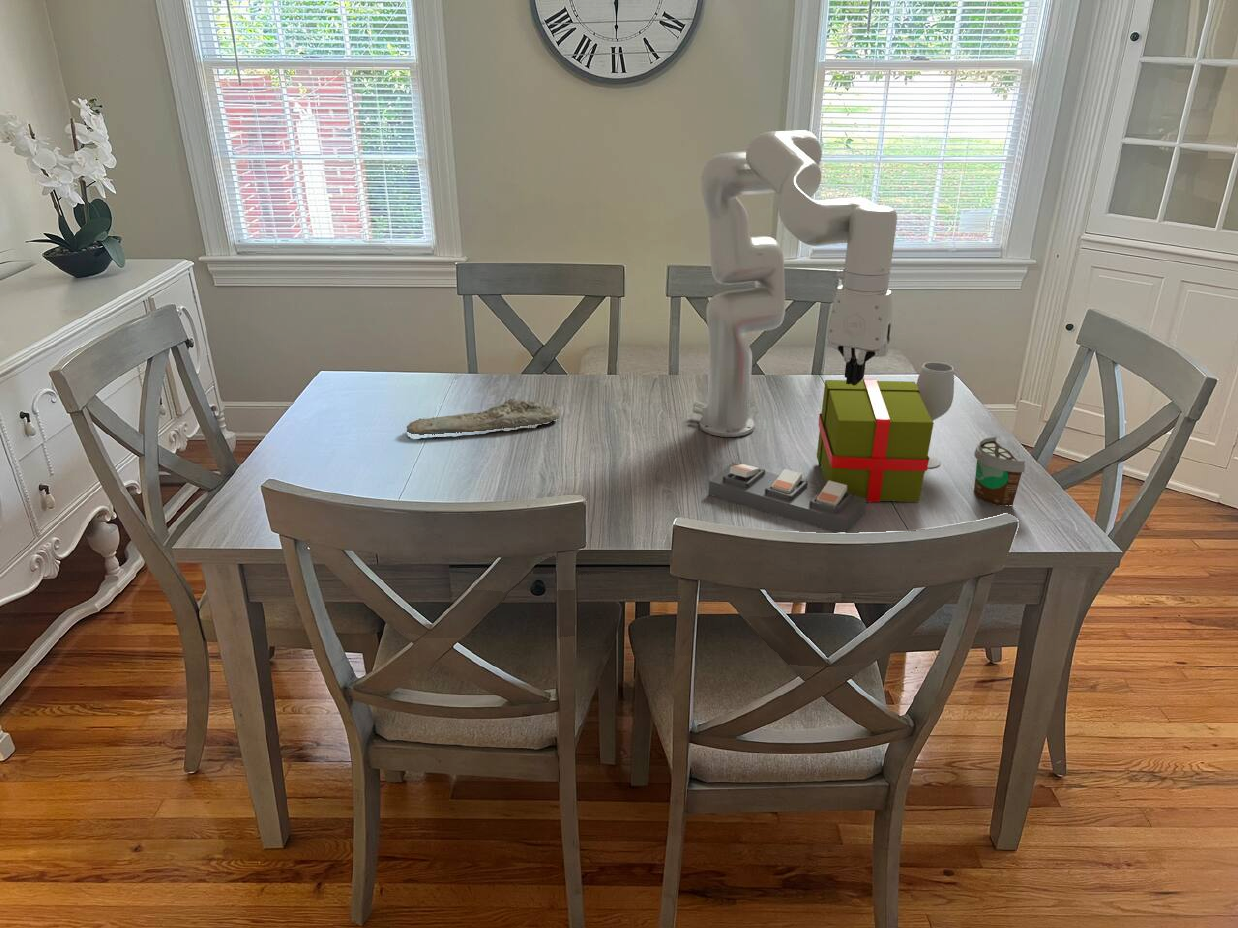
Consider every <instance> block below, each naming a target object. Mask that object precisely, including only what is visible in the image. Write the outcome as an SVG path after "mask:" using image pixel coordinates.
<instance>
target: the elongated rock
mask: <svg viewBox="0 0 1238 928" xmlns="http://www.w3.org/2000/svg"><path fill="white" fill-rule="evenodd" d="M559 413H560V412H559V411H558V409H557V408H556V407H553V406H548V405H545V404H541V403H540V402H539V403H538V402H536V401H535V402H534V401H526V400H523V401H521V400H517V399H516V398H509V399H508V400H506V401H504V402H503V403H502V404H500V405H499V406H493V407H490V408H489V409H486V410H484V411H479V412H468V413H461V414H460V413H459V414H454V415H445V416H434V417H428V418H418V419H416V420H413V421H410V422H409V424H408V425H406V431H407V432H409V433H411V434H419V435H424V434H432V435H433V434H434V435H435V434H444V433H456V432H457V433H459V432H460V433H462V432H474V431H486V430H494V429H502V428H503V429H504V428H516V427H520V426H528V425H535V424H543V423H547V422H552V421H554V420H556V419H559V418H560V415H559Z"/></svg>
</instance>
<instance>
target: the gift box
mask: <svg viewBox="0 0 1238 928" xmlns="http://www.w3.org/2000/svg"><path fill="white" fill-rule="evenodd" d="M916 383H917V382H915V381H906V380H905V381H899V380H898V381H897V380H895V381H894V380H877V379H876V378H863V380H861V381H860V382H859V383H858V384H856V385H855V386H854V385H852V384H846V379H825V380H824V388H823V389H824V390H823V396H822V397H823V398H822V407H821V413H819V417H818V428H819V431H818V432H819V434H818V440H817V441H818V443H817V452H816V459H817V462H818V467H820V468H821V472H822V476H823V480H824V484H825V485H826V484H827V482H828V481H833V482H837V483H841V484H844V485H847V491H846V492H849V493H853V495H855V496H858V497H862V498H866V499H867V500H866V503H880V502H915V503H919V502H920V498H921V494H922V493H921V492H922V488H923V484H924V483H923V482H924V477H925V471H926V472H927V471H928V469H929V468H928V462H929V457H928V454H929V450H930V444H931V439H932V433H933V430H934V420H933V421H932V419H931V417H930V415H929V413H928V411H927V409H926V407H925V405H924V403H923V401H922V399H921V397H920V395H919V389H918V387H917V385H916ZM825 485H824V486H825Z"/></svg>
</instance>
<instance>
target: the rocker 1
mask: <svg viewBox="0 0 1238 928" xmlns="http://www.w3.org/2000/svg"><path fill="white" fill-rule="evenodd" d="M739 464H740V463H739ZM759 468H760V467H757V466H752V465H750V464H749V465H748V464H744V463H741V464H740V465H735V466H732V467H730V472H729V473H731V474H735V475H739V476H742V477H750V476H753V475H756V474H758V472H759Z"/></svg>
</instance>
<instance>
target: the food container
mask: <svg viewBox="0 0 1238 928" xmlns="http://www.w3.org/2000/svg"><path fill="white" fill-rule="evenodd" d="M997 438H998V437H997V436H991V437H987V438H983V439H981V440H980V441H979V443H978V444H977V445H976V448H975V450H974V452H973V455H974V458H975V459H976V467H975V476H974V486H973V487H974V488H973V494H974V496H975V497H977V499H979V500H981V501H983V502H984V503H987V502H988V503H987V504H990V503H991V504H990V505H994V504H995V506H998V505H1004V506H1003V507H1006V506H1005V505H1008V506H1007V507H1010V506H1009V505H1012V506H1014V502H1015V498H1016V494H1017V491H1018V488H1019V484H1020V481H1021V477H1022V474H1023V473H1025V467H1026V464H1025V463H1026V461H1025V460H1017V459H1016V458H1015V456H1014V455H1013V454H1012V453H1011V452H1010V450H1008V449H1006V448H1004V447H1002V446H1001V445H1000V444H999V443H998V442H997Z"/></svg>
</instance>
